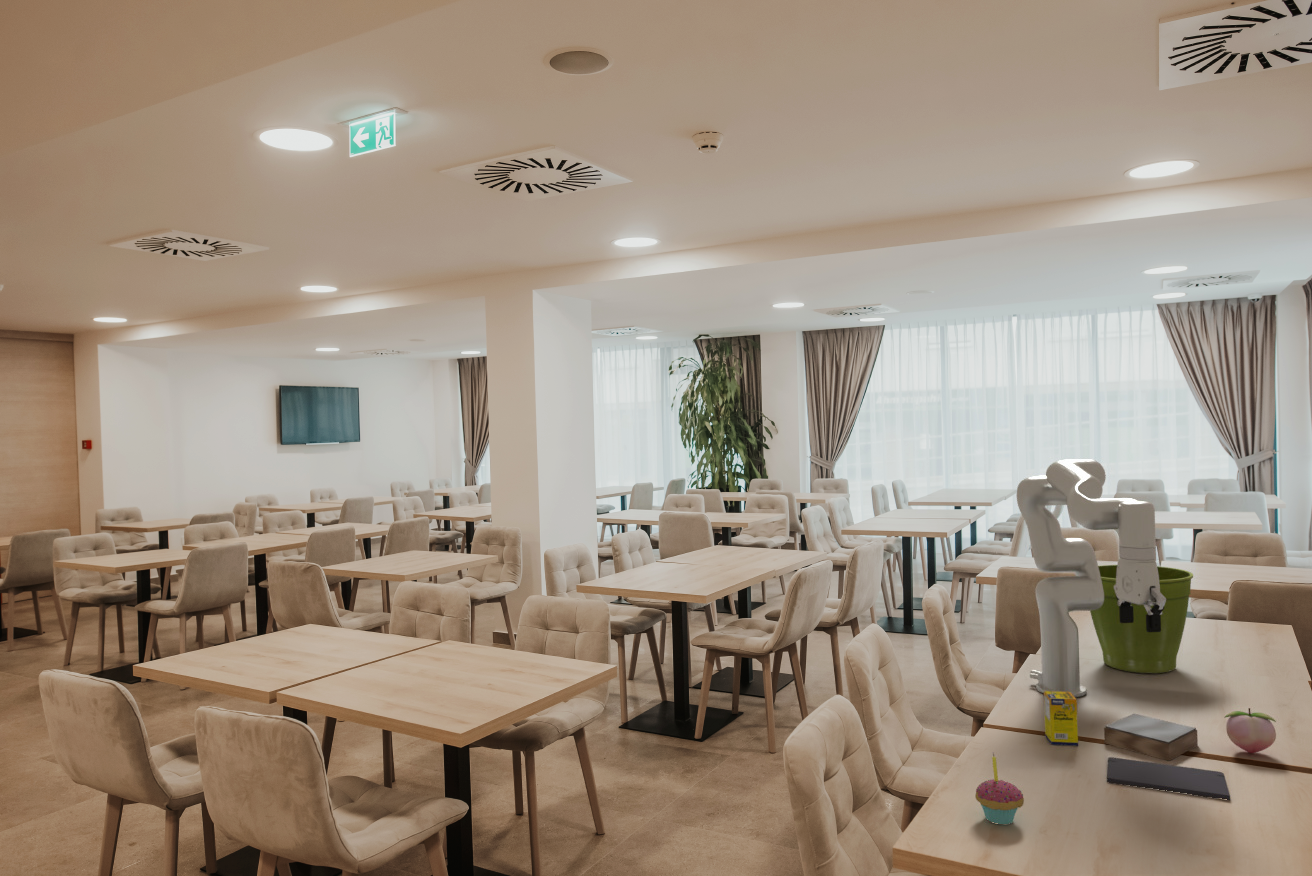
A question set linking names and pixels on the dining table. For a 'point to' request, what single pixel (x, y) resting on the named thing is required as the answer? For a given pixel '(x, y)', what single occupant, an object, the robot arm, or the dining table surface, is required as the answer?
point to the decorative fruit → (1250, 730)
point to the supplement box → (1061, 718)
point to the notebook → (1167, 777)
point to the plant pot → (1143, 625)
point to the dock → (1151, 736)
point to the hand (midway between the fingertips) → (1139, 627)
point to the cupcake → (999, 798)
